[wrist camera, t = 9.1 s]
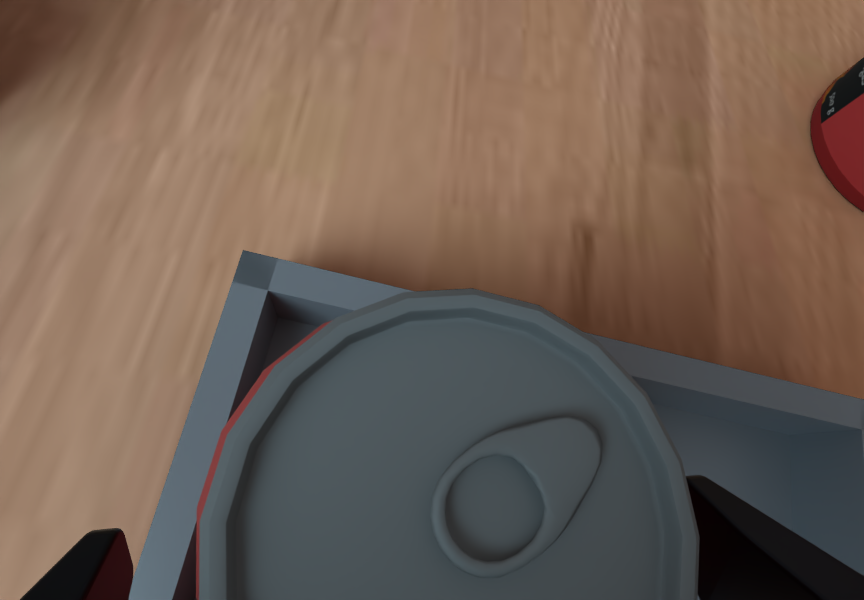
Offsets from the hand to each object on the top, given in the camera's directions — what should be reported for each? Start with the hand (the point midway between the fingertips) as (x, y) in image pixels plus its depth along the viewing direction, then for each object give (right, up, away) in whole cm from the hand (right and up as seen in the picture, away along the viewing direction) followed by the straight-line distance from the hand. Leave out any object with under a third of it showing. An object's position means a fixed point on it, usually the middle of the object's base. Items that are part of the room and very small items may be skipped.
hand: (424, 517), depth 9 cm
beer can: (-2, -3, +8) cm, 9 cm away
